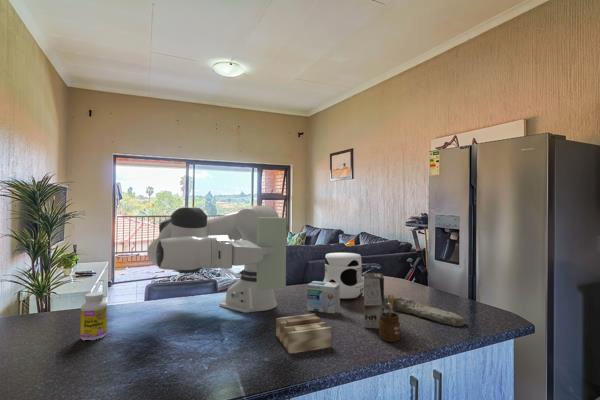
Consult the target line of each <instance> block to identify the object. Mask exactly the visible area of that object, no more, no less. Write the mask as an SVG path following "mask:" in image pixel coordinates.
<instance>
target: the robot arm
mask: <svg viewBox="0 0 600 400" xmlns="http://www.w3.org/2000/svg"><path fill="white" fill-rule="evenodd" d="M208 218H209V216H208V214H206V213H205V211H203V209H202V208H201V207H196V206H183V207H179V208H176V209H175V211H173V212H172V213H171V215H170V216H169V217H167V218H166V219H164V220H163V221H161V222H160V223H159V228H158V229H159V235H158V237H157V238H155V239H154V240H152V241H151V242H150V244H149V245H148V247H147V253H146V254H147V258H148V259H149V261H150V262H151V263H152V264H153V265H154V266H156V267H158V268H159V269H161V270H167V271H175V272H177V273H179V274H180V275H181V274H182V275H183V274H194V273H195V274H197V273H199V272H200V271H201V270H202V269H209V270H210V269H211V270H215V269H225V270H226V269H232V268H233V266H235V267H237V266H244V267H243V268H244V269H242V270H241V271H238V275H239V276H240V277H239V279H238V280H237V281H236V282H235V283H233V284H232V285H231V286H229V287H228V289H227V291H226V295H225V299H222V300H221V301H220V302H219V306H220V307H223V308H226V309H229V310H234V311H237V312H242V313H244V314H247V313H253V312H263V311H269V310H272V309H274V308H277V306H278V303H277V300H276V296H275V289H269V290H257V263H259V262H262V261H263V255H266V254H273V247H259V246H257V218H280V216H279V213H278V212H277V210H276V209H274V208H273V207H271V206H268V205H249V206H245V207H243V208H242V209H240V210H238V211H236V212H232V213H227V214H224V215H220V216H217V217H214V218H210V219H208Z"/></svg>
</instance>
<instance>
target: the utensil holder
mask: <svg viewBox="0 0 600 400" xmlns="http://www.w3.org/2000/svg"><path fill="white" fill-rule="evenodd" d="M387 295H388V303H387V304H388V306H390V308H389V311H386V308H387V307H386V306H384V313H381V320H380V323H379V329H378V331H379V332H378V333H379V338H380V339H381V340H382V341H384V342H389V343H396V342H398V341H399V340H400V338H401V325H400V324H401V323H400V320H399V319H400V318H399V317H400V316H399V315H398V313H395V312H394V310H393V308H392V306H393V296H394V295H391V294H387ZM389 295H390V303H389ZM391 296H392V303H391ZM387 304H386V305H387ZM391 308H392V309H391Z"/></svg>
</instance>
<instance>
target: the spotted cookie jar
mask: <svg viewBox="0 0 600 400" xmlns="http://www.w3.org/2000/svg"><path fill="white" fill-rule="evenodd" d="M362 266H363V265H362V256H361V254H359V253H355V252H329V253H328V252H327V253H326V254H325V257H324V279H323V281H322V282H331V283H340V301H351V300H356V299H359V298H361V297H362V296H363V295H364V279H363V276H362V274H363V273H362V269H363V267H362Z"/></svg>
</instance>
